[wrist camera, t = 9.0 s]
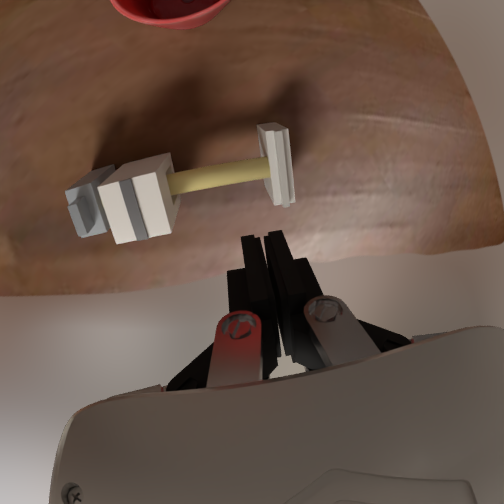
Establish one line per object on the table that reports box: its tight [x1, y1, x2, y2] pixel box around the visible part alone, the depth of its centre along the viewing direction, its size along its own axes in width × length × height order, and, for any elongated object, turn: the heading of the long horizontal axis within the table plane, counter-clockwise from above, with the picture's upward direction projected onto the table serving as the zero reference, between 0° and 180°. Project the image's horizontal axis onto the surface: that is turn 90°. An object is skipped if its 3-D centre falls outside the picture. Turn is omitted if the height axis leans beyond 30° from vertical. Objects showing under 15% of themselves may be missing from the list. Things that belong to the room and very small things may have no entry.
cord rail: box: [65, 122, 295, 238], centre depth 27 cm, size 21×7×9 cm, turn 98°
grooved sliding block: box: [97, 152, 181, 244], centre depth 25 cm, size 5×5×8 cm
